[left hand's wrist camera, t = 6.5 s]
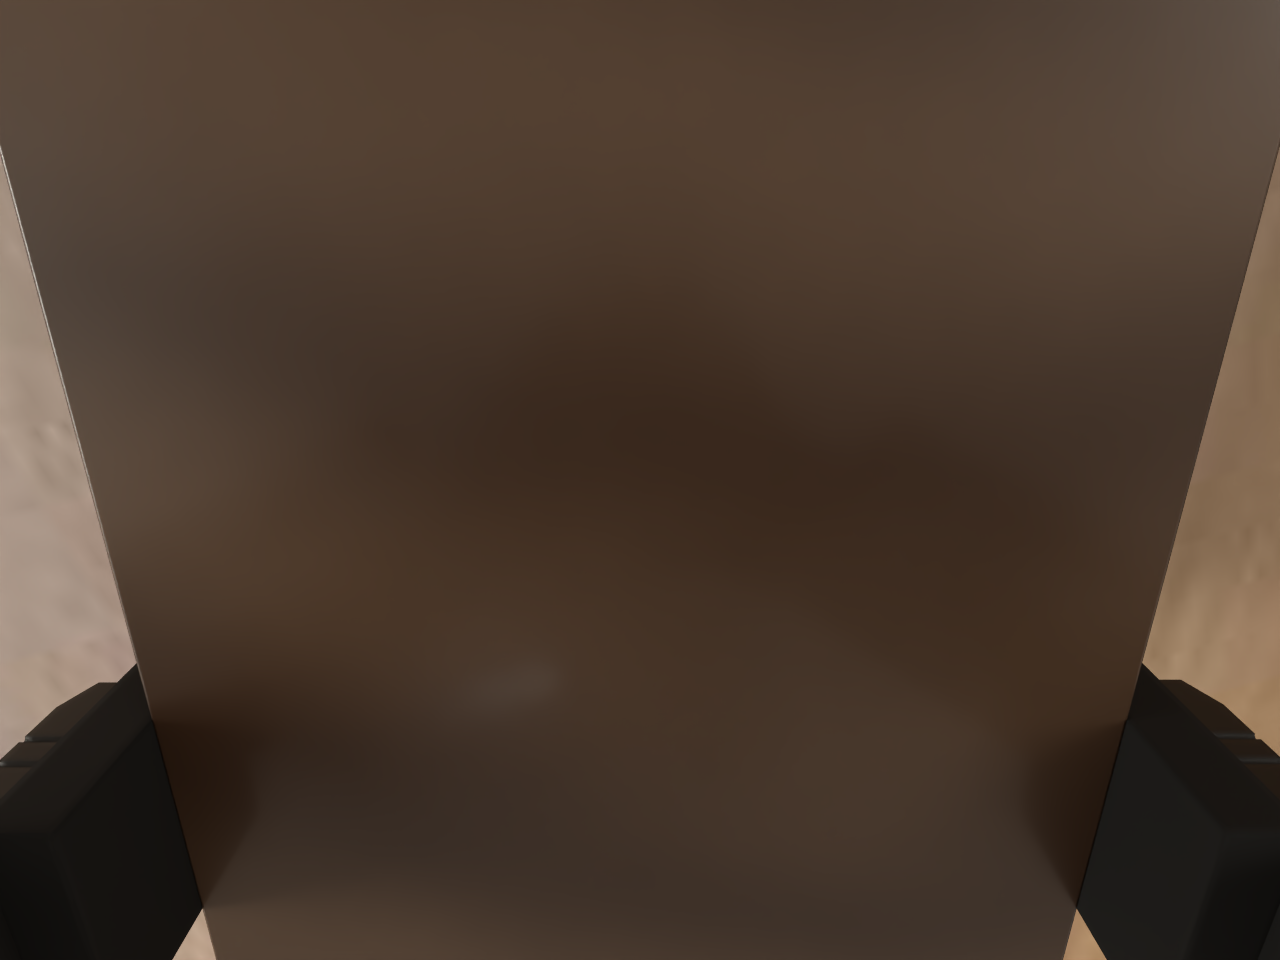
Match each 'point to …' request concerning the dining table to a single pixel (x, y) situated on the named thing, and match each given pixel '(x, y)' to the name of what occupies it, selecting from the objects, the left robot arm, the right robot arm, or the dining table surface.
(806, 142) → the cabinet
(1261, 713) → the dining table surface
